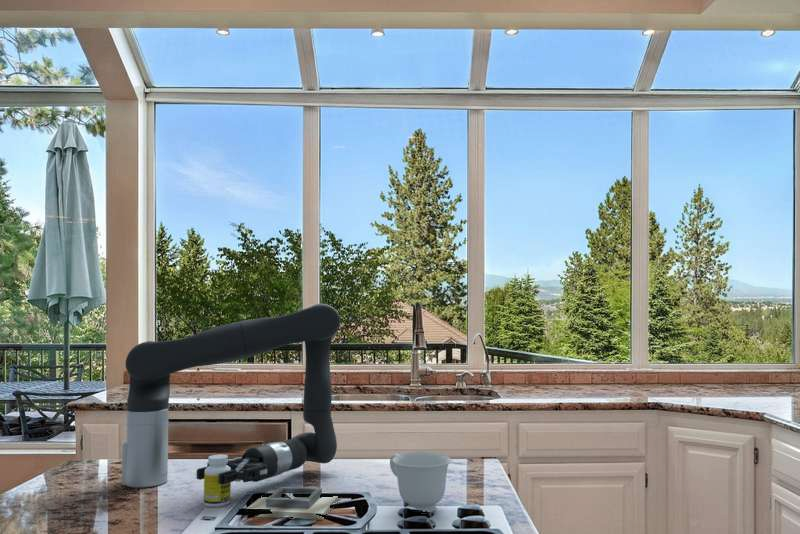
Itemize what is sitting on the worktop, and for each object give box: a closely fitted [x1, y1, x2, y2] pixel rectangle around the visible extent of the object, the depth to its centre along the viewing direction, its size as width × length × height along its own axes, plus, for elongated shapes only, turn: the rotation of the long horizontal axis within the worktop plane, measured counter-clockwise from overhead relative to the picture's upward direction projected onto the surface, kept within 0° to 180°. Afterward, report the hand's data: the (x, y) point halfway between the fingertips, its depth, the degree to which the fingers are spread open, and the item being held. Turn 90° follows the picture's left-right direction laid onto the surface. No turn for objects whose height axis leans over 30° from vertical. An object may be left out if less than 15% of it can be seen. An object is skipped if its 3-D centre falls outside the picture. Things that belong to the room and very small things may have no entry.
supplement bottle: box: [203, 453, 232, 508], centre depth 133 cm, size 5×5×10 cm
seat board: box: [246, 486, 341, 521], centre depth 130 cm, size 16×14×3 cm
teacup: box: [389, 451, 452, 513], centre depth 129 cm, size 12×15×10 cm
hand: (208, 476), depth 131 cm, fingers open, 6 cm apart
